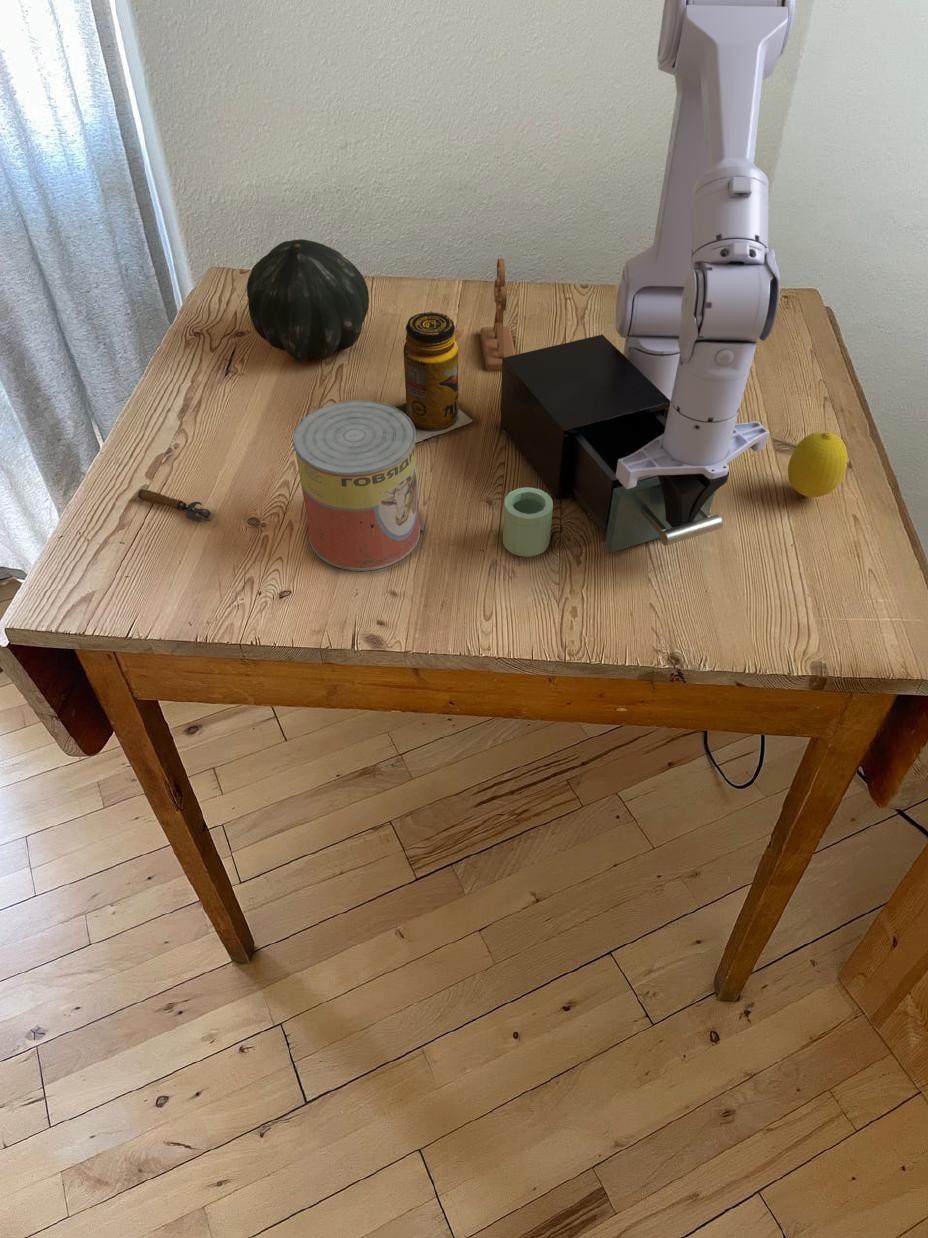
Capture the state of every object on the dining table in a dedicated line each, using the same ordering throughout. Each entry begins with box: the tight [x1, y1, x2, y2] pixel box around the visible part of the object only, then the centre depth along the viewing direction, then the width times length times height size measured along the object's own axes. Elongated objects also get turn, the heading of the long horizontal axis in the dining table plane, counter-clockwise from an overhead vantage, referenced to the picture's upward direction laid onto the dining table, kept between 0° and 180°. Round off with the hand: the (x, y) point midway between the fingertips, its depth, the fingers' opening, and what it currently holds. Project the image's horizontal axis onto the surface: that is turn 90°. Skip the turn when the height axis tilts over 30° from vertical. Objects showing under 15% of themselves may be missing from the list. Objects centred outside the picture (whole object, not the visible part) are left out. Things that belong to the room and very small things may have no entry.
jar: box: [502, 486, 554, 558], centre depth 89 cm, size 5×5×5 cm
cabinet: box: [499, 334, 671, 501], centre depth 98 cm, size 14×12×9 cm
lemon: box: [787, 431, 849, 498], centre depth 93 cm, size 6×6×8 cm
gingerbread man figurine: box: [480, 257, 517, 372], centre depth 111 cm, size 9×4×12 cm, turn 4°
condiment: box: [394, 311, 473, 444], centre depth 101 cm, size 7×8×12 cm
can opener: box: [137, 488, 211, 523], centre depth 94 cm, size 9×2×1 cm, turn 62°
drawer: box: [564, 411, 723, 554], centre depth 90 cm, size 18×11×7 cm, turn 23°
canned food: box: [292, 399, 421, 572], centre depth 88 cm, size 11×11×12 cm
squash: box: [246, 238, 370, 362], centre depth 112 cm, size 14×15×15 cm
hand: (676, 524), depth 86 cm, fingers closed
